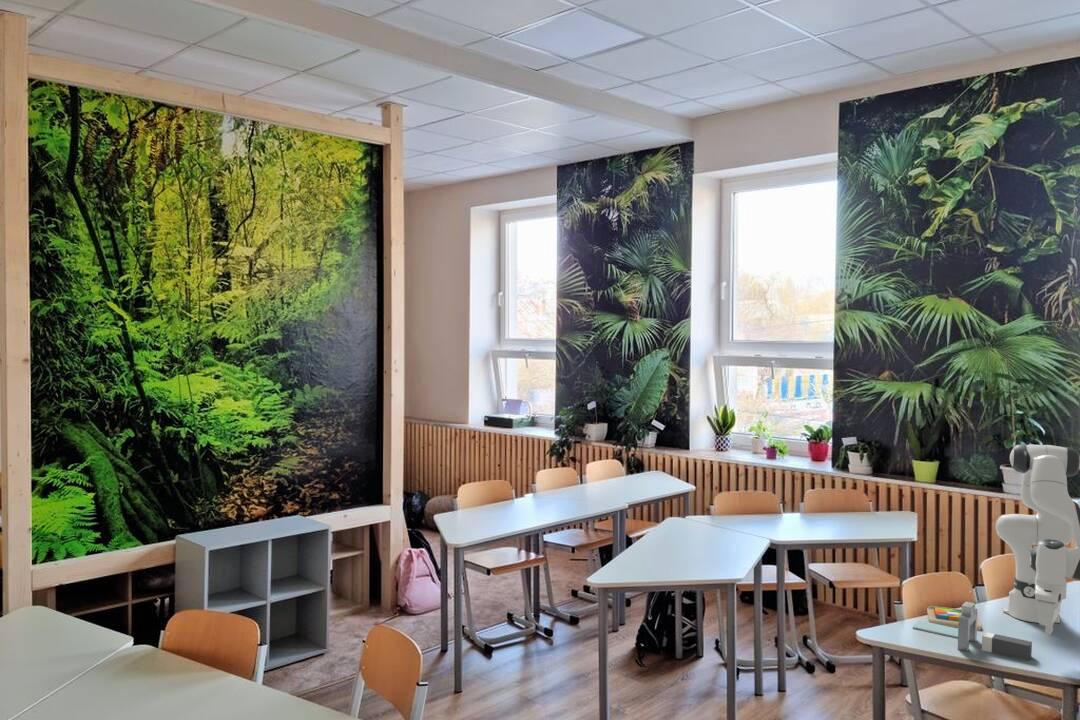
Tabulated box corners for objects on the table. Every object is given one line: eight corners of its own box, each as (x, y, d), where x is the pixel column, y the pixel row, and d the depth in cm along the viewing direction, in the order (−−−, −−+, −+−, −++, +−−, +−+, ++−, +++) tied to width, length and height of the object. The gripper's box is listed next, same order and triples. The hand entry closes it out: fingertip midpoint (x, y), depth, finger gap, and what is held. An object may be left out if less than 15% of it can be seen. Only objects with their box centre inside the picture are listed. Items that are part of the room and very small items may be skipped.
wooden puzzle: (976, 616, 324) (977, 607, 323) (982, 632, 306) (982, 623, 306) (926, 610, 330) (926, 601, 330) (929, 625, 313) (929, 616, 313)
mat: (919, 622, 315) (919, 620, 315) (972, 633, 304) (972, 631, 304) (912, 628, 308) (912, 626, 308) (967, 640, 297) (967, 638, 296)
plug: (984, 646, 291) (985, 631, 291) (1031, 656, 282) (1031, 641, 282) (981, 650, 287) (982, 635, 287) (1028, 660, 279) (1029, 645, 278)
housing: (967, 638, 299) (968, 598, 298) (976, 640, 297) (977, 600, 296) (957, 649, 288) (958, 608, 287) (967, 651, 286) (968, 610, 286)
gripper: (1044, 582, 287) (1043, 622, 287) (1034, 595, 271) (1032, 638, 271) (1066, 585, 283) (1064, 627, 283) (1057, 599, 267) (1055, 643, 267)
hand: (1049, 632), depth 277 cm, fingers closed
